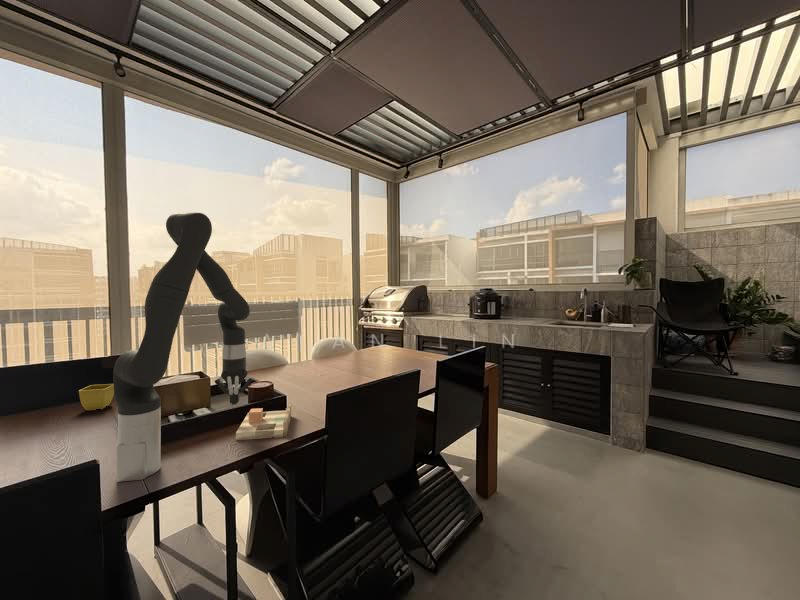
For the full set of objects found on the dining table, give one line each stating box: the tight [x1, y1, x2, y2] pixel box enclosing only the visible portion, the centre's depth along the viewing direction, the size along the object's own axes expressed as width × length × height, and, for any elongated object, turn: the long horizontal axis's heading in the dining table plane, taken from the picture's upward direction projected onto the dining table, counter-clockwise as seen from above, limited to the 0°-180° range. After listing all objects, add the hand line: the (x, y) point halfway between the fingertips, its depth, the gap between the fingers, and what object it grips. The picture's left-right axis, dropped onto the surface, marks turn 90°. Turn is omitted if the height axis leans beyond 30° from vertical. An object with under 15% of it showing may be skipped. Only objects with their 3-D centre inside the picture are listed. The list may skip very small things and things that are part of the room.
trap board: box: [235, 403, 292, 441], centre depth 123 cm, size 19×16×5 cm
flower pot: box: [78, 383, 114, 411], centre depth 138 cm, size 9×9×9 cm
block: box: [248, 407, 264, 424], centre depth 122 cm, size 4×4×4 cm
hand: (234, 403), depth 120 cm, fingers closed
